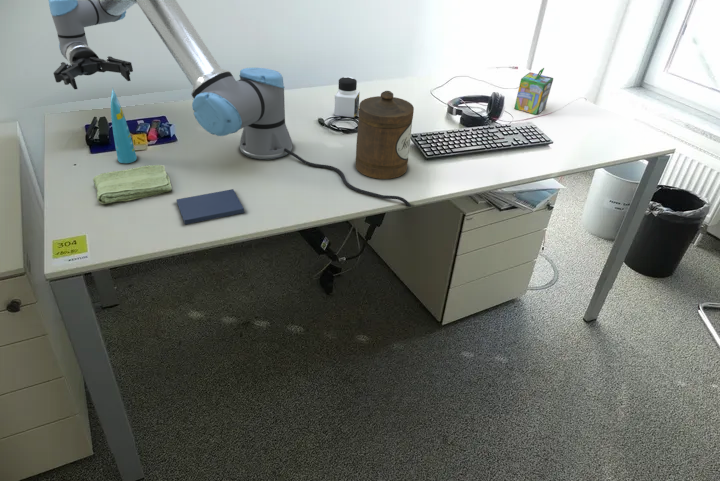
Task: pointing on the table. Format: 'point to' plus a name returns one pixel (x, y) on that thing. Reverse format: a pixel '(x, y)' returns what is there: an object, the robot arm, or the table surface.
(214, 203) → the notebook
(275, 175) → the table surface
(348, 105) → the medicine bottle
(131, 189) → the washcloth
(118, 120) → the tube
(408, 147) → the wooden container
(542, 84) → the chalk box
